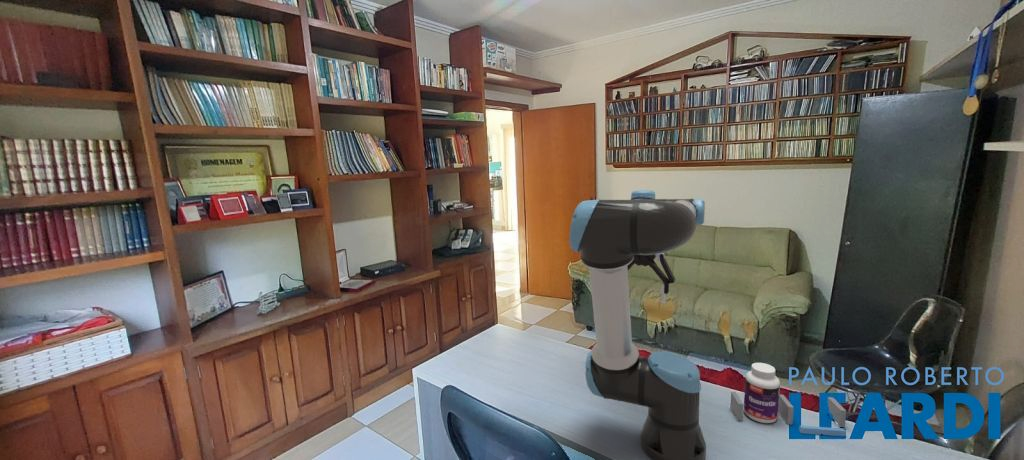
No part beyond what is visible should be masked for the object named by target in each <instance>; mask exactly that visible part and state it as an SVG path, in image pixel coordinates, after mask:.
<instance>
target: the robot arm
mask: <svg viewBox="0 0 1024 460" xmlns="http://www.w3.org/2000/svg"><path fill="white" fill-rule="evenodd" d="M705 207H706V203H705V201H704V199H701V198H700V199H699V198H673V199H671V198H656V192H655V191H654V190H647V189H646V190H643V189H641V190H639V189H638V190H633V191H632V192H631V194H630V199H600V198H598V199H590V200H588V199H587V200H583V201H581V202H580V203H578V204H577V206H576V208H575V210H574V212H573V215H572V219H571V221H570V222H571V223H570V227H569V247H570V249H571V250H572V252H576V253H580V259H581V262H582V265H583V266H585V267H586V268H588V270H589V271H588V272H589V282H590V291H591V302H592V303H591V304H592V311H593V312H592V313H593V321H594V331H595V340H596V343H595V344H594V345H593V346H592V349H591V350H589V352H588V353H587V356H586V359H585V360H586V361H585V372H584V374H585V380H586V384H587V387H588V390H589V391H590V392H591V393H592V394H593V395H595V396H598V397H601V398H603V399H606V400H613V401H617V402H624V403H627V404H631V405H637V406H642V407H647V408H648V409H647V410H648V411H647V412H648V414H647V416H646V419H645V421H644V424H643V426H642V429H641V432H640V445H641V448H642V450H643V452H644V453H645V454H646V455H647V456H648V457H649V458H650V459H652V460H705V459H706V457H707V446H706V445H707V444H706V440H705V437H704V435H703V431H702V429H701V425H700V395H701V394H700V391H701V390H702V389H701V388H702V384H701V373H700V370H699V368H698V366H697V365H696V363H694V362H693V361H691V360H690V359H689V358H687V357H686V356H684V355H682V354H679V353H676V352H671V351H667V350H661V351H658V350H657V351H654V352H652V353H650V355H649V356H648V357H645V356H640V352H639V349H638V347H637V346H636V345H635V344H634V343H633V341H632V340H633V339H632V337H633V336H632V324H631V323H632V322H631V304H630V302H631V301H630V290H629V288H630V287H629V270H630V269H631V268H632V267H633V266H634V265H636V266H639V267H641V266H644V267H648V266H649V268H650V269H652V270H653V271H654V273H655V274H656V275H657V277H658V278H659V279H660V280H661V281H662V283H661V291H660V292H661V293H660V295H661V296H660V298H661V299H660V300H661V302H660V304H661V305H664V304H665V303H666V300H667V299H666V295H668V294H669V292H670V284H674V283H675V281H676V277H675V275H674V274H673V272H672V269H671V268H670V266H669V264H668V262H667V260H666V253H667V252H670V251H672V250H673V251H674V250H676V249H678V248H679V247H682V246H683V245H685V244H686V243H688V242H689V241H690V240H691V239H692V237H693V236H694V234H695V231H696V229H697V226H702V225H704V224H705V213H706V212H705V210H706V208H705ZM656 258H657V260H658V261H660V264H661V267H662V268H663V270H664V272H663V270H661V268H660V267H659V266H658V264H657V263H656V261H655V259H656Z"/></svg>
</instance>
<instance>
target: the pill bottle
mask: <svg viewBox="0 0 1024 460" xmlns="http://www.w3.org/2000/svg"><path fill="white" fill-rule="evenodd" d="M744 379H745V382H744V397H743V399H744V400H743V413H745V415H746V416H747V417H748V418H749V419H751V420H753V421H756V422H759V423H762V424H772V423H775V422H776V421H777V420H778V416H779V412H778V405H779V394H780V393H781V392H780V390H781V382H780V381H781V380H780V379H779V378H778V377H777V375H776V368H775V367H774V366H772V365H771V364H768V363H764V362H754V363H752V364H751V370H749V371H747V373H746V374H745V378H744Z"/></svg>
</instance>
